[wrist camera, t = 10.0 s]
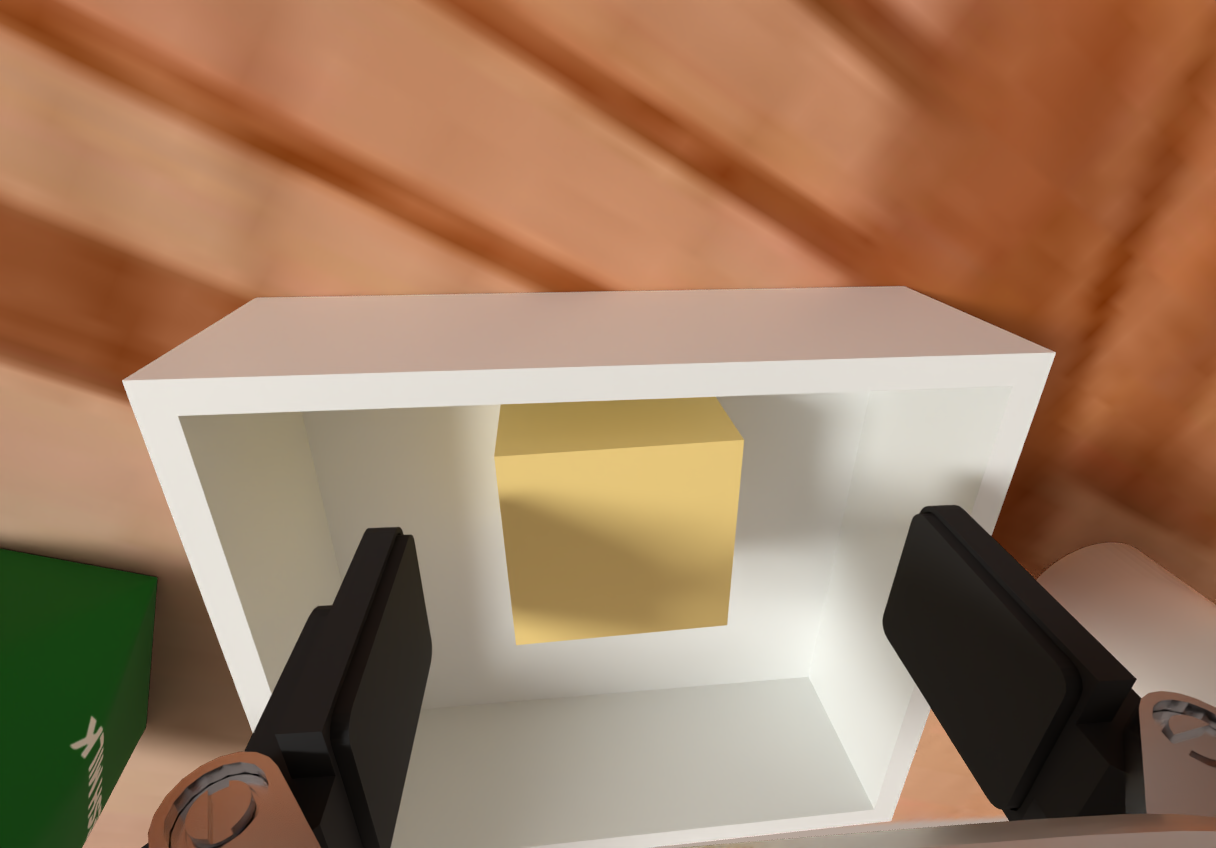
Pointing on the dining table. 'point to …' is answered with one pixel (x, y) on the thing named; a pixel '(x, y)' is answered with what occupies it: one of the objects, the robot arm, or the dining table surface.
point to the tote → (475, 553)
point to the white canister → (1140, 617)
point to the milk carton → (68, 692)
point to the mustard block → (617, 515)
